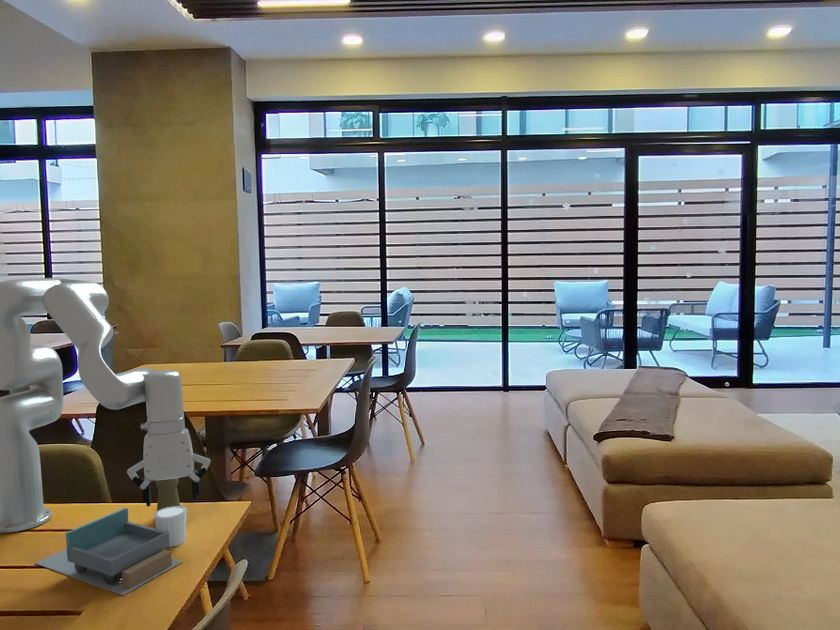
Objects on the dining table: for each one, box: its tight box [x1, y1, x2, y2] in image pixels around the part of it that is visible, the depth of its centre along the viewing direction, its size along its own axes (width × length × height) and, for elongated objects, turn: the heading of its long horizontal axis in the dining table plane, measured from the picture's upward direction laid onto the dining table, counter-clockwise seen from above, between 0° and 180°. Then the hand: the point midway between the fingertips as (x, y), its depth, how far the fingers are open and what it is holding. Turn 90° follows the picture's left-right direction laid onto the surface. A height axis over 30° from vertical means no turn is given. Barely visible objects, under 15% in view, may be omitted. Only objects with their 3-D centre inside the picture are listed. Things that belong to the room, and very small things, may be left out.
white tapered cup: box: [153, 505, 188, 548], centre depth 139 cm, size 7×7×7 cm
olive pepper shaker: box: [155, 478, 181, 512], centre depth 151 cm, size 6×6×11 cm
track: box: [34, 548, 183, 597], centre depth 129 cm, size 28×14×3 cm, turn 63°
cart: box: [65, 507, 170, 584], centre depth 127 cm, size 14×14×8 cm
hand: (172, 500), depth 138 cm, fingers open, 9 cm apart
